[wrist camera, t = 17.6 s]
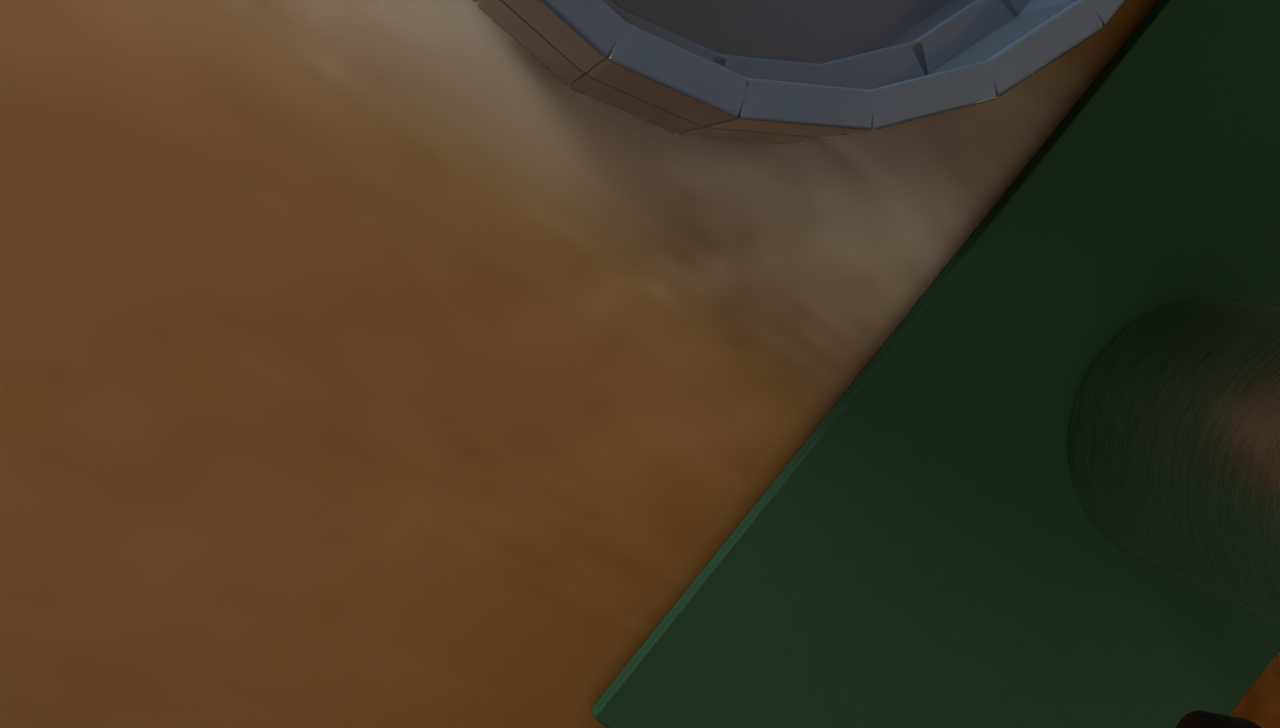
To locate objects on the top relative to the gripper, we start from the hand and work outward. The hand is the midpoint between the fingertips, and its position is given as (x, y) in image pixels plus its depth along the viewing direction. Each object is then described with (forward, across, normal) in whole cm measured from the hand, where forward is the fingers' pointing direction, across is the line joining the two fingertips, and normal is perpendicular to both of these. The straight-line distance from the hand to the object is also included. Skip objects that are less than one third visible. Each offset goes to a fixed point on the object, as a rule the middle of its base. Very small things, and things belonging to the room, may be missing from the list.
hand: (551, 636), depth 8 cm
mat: (+14, -10, +5) cm, 18 cm away
